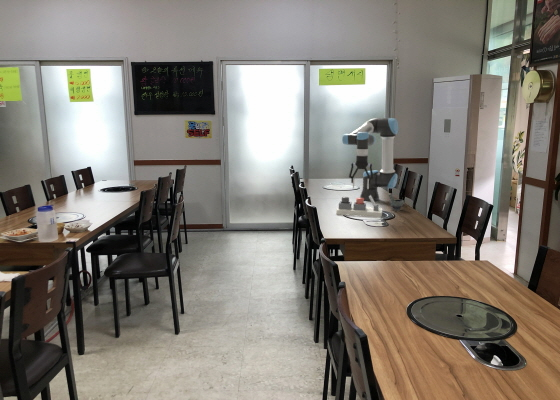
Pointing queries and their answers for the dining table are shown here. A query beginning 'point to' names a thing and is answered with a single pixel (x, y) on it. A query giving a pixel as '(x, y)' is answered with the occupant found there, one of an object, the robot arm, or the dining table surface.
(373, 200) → the lever
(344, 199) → the button black
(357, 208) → the console
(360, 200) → the button red
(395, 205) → the mortar and pestle
